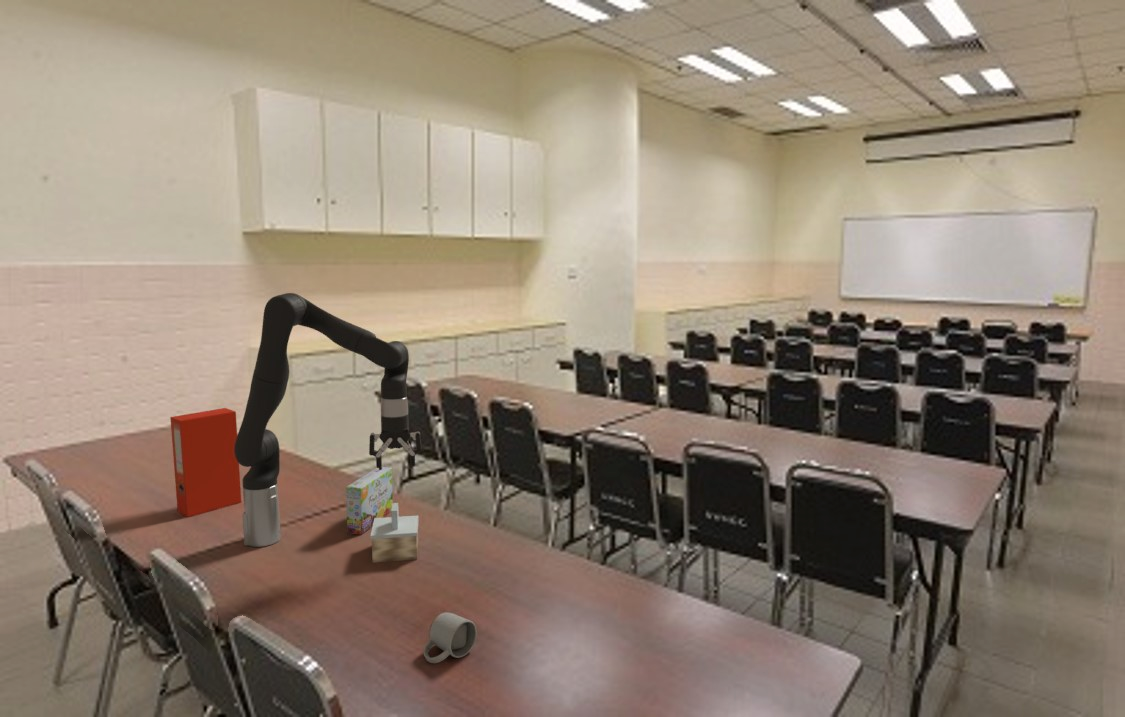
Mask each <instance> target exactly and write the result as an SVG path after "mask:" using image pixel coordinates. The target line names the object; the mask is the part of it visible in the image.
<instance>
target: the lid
mask: <svg viewBox="0 0 1125 717" xmlns="http://www.w3.org/2000/svg"><path fill="white" fill-rule="evenodd" d="M390 514H391V516H388V517H386V516H385V517H383V518H374V522H373V526H372V527H371V532H370V540H372V539H381V538H396V537H411V536H417V535H418V536H419V533H418V531H419V519H420V518H419V515H403V516H400V515H399V502H393V504H392V510H391V512H390Z"/></svg>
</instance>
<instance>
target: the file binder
mask: <svg viewBox="0 0 1125 717" xmlns="http://www.w3.org/2000/svg"><path fill="white" fill-rule="evenodd" d="M169 420H170V429H171V430H170V431H171V441H172V442H171V443H172V456H173V467H174V480H175V494H176V506H177V507H176V508H177V512H178V513H180V514H181V515H183V516H185V517H186V518H190V516H191V517H194V516H198V515H201V514H205V513H209V512H212V511H215V509H216V510H218V509H219V508H220V509H222V507H223V508H226V506H227V507H230V506H233V504H234V505H237V504H241V503H242V492H241V491H242V490H241V489H242V488H241V475H240V464H239V463H238V461H237V460H236V458H235V454H234V446H235V442H236V438H237V435H238V426H237V424H238V423H237V412H236V411H235V410H233V409H229V408H226V407H222V408H217V409H210V410H205V411H198V412H194V413H186V414H180V415H175V416H174V415H173V416H170V417H169ZM240 502H241V503H240ZM211 510H212V511H211Z"/></svg>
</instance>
